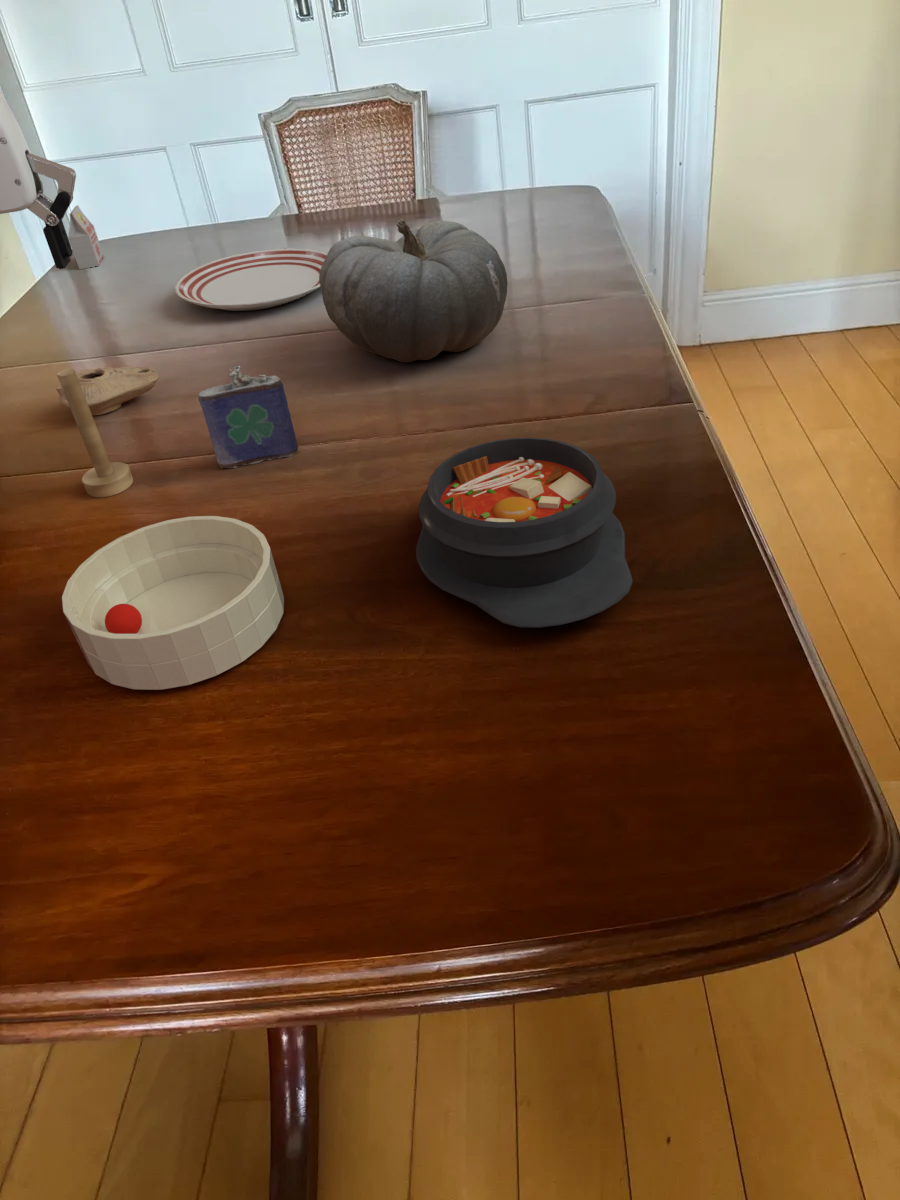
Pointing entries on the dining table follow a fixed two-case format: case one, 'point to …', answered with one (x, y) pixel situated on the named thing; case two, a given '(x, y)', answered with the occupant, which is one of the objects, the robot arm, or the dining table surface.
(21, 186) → the robot arm
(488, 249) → the gourd
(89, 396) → the pottery oil lamp
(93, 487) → the wooden potato masher
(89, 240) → the white milk carton
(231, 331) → the dining table surface
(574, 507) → the casserole
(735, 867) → the dining table surface
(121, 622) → the red ball
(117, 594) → the bowl
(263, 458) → the flask
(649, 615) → the dining table surface
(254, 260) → the dinner plate
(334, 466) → the dining table surface
